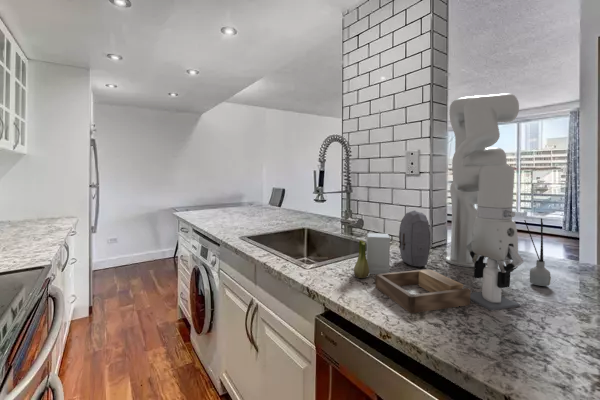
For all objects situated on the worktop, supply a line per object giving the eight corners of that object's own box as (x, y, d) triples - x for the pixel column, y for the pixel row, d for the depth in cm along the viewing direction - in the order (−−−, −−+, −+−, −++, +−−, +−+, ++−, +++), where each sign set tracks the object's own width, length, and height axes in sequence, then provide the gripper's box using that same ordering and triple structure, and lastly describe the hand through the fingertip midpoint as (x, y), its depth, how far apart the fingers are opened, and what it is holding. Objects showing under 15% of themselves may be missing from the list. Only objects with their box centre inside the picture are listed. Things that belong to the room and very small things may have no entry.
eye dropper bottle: (480, 300, 77) (481, 254, 76) (482, 293, 82) (484, 250, 81) (500, 305, 75) (502, 257, 74) (502, 297, 79) (504, 252, 78)
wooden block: (430, 284, 91) (430, 269, 90) (463, 301, 78) (464, 284, 78) (417, 285, 90) (417, 270, 89) (449, 303, 77) (449, 286, 77)
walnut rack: (425, 281, 93) (426, 269, 92) (470, 305, 76) (470, 289, 76) (375, 287, 88) (375, 274, 88) (410, 313, 72) (410, 297, 72)
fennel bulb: (366, 281, 94) (366, 243, 93) (351, 278, 96) (351, 241, 95) (371, 275, 99) (371, 239, 98) (356, 273, 101) (357, 238, 100)
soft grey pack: (432, 270, 104) (433, 212, 102) (408, 270, 103) (409, 213, 102) (413, 258, 119) (414, 208, 117) (392, 258, 119) (393, 208, 117)
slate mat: (489, 292, 84) (489, 290, 84) (520, 306, 75) (520, 304, 75) (462, 296, 82) (462, 294, 82) (490, 310, 73) (491, 308, 73)
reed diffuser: (550, 292, 84) (555, 221, 82) (520, 287, 88) (523, 219, 86) (549, 282, 92) (553, 217, 90) (521, 277, 96) (524, 215, 94)
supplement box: (389, 275, 99) (390, 237, 98) (366, 274, 101) (367, 236, 99) (387, 268, 106) (388, 233, 105) (366, 267, 108) (366, 232, 107)
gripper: (540, 217, 69) (535, 293, 71) (478, 209, 86) (475, 270, 87) (514, 219, 67) (510, 296, 69) (456, 210, 84) (453, 273, 85)
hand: (490, 281), depth 78 cm, fingers open, 6 cm apart
